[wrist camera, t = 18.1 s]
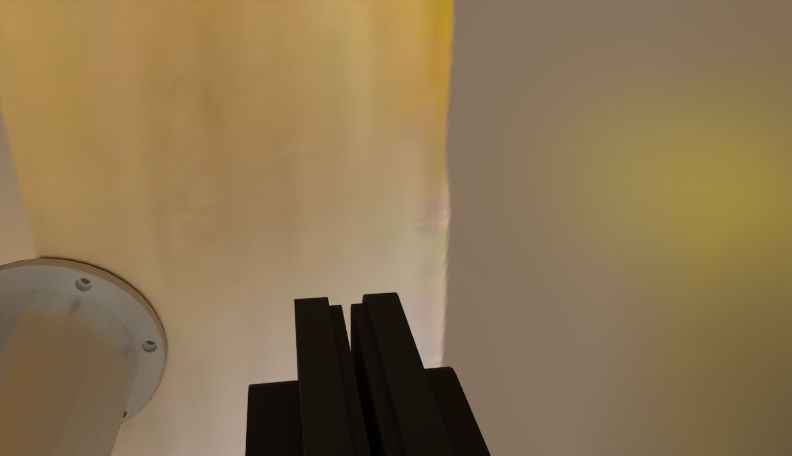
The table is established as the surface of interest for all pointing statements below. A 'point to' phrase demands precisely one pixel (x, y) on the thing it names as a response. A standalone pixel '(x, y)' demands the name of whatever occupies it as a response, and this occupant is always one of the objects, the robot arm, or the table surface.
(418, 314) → the table surface
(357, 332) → the robot arm
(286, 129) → the table surface
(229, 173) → the table surface
